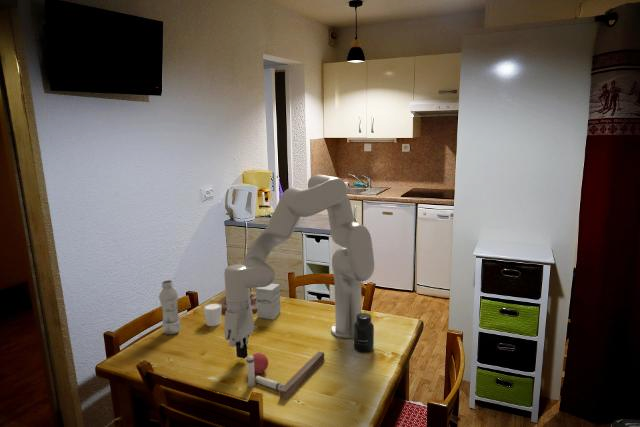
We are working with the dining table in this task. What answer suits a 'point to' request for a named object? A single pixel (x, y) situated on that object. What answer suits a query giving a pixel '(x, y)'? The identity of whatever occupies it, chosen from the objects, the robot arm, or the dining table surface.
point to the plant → (252, 301)
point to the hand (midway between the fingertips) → (242, 356)
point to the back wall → (301, 375)
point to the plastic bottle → (169, 308)
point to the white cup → (213, 314)
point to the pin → (268, 383)
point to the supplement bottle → (363, 333)
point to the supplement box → (268, 301)
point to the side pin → (250, 370)
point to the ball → (260, 363)
